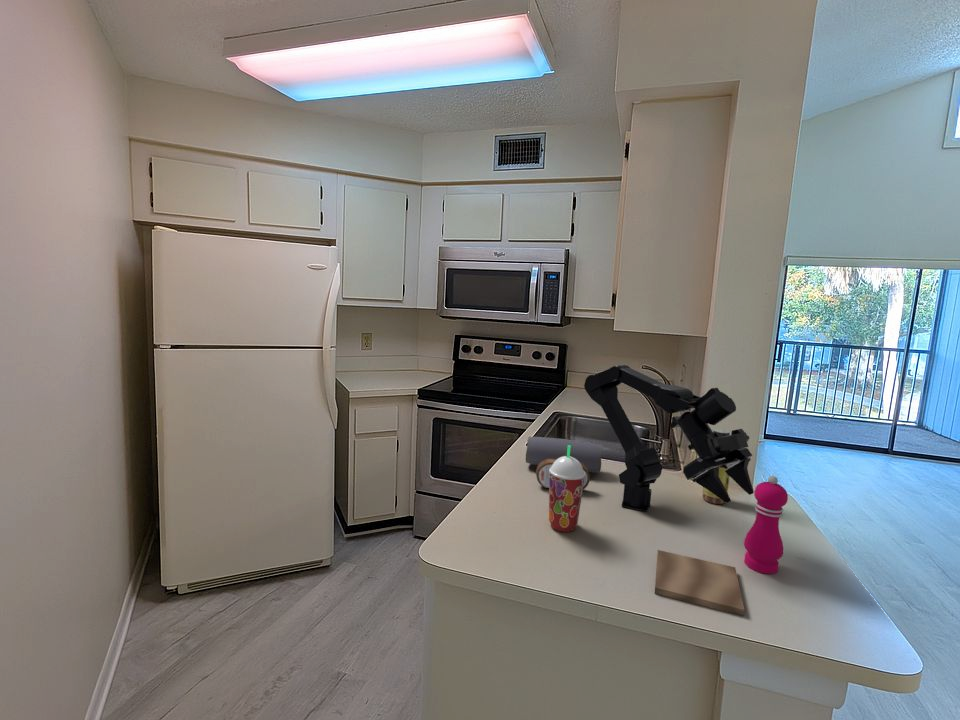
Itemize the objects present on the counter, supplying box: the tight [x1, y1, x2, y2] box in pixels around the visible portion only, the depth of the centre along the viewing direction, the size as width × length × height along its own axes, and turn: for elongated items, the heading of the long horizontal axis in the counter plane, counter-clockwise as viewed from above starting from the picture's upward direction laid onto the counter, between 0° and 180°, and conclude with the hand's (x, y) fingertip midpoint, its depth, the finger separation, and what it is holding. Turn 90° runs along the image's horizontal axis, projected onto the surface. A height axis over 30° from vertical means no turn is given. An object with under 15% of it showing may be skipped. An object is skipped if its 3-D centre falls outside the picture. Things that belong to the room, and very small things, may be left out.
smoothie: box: [548, 445, 585, 533], centre depth 117 cm, size 8×8×20 cm
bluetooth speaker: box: [525, 436, 603, 473], centre depth 154 cm, size 23×9×10 cm, turn 77°
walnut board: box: [654, 549, 745, 617], centre depth 98 cm, size 15×15×1 cm
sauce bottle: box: [702, 428, 731, 505], centre depth 137 cm, size 7×6×20 cm
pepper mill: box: [743, 475, 789, 575], centre depth 104 cm, size 7×7×20 cm
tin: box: [535, 459, 591, 490], centre depth 140 cm, size 15×3×8 cm, turn 84°
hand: (740, 497), depth 108 cm, fingers open, 9 cm apart
